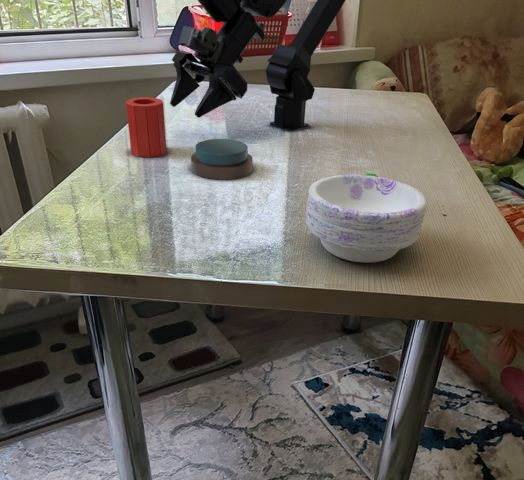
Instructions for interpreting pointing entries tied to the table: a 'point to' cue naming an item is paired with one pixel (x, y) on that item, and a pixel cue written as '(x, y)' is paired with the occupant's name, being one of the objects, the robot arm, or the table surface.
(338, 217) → the paper bowls
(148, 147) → the red cylinder
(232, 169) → the stack base
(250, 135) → the table surface
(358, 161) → the table surface
